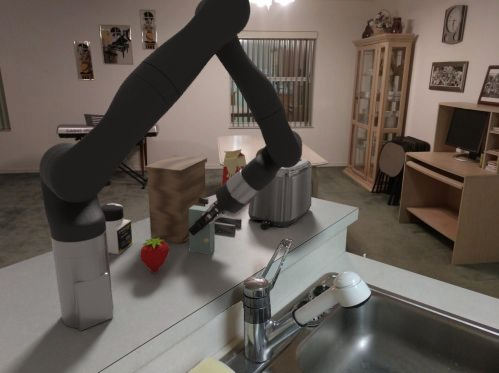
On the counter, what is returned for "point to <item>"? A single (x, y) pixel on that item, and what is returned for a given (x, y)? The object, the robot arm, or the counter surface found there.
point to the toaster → (284, 196)
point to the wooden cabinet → (179, 197)
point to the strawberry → (154, 254)
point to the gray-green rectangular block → (201, 232)
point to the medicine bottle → (117, 228)
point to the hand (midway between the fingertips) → (195, 229)
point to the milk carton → (232, 164)
